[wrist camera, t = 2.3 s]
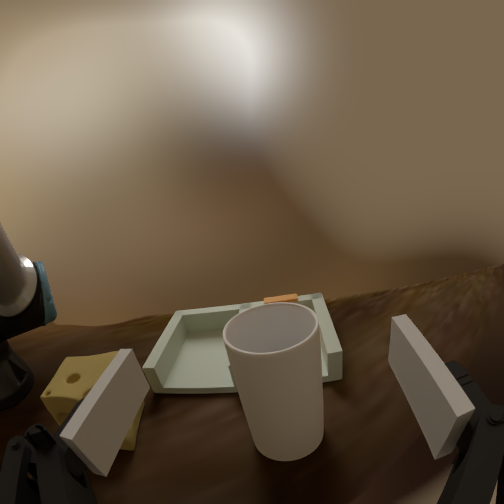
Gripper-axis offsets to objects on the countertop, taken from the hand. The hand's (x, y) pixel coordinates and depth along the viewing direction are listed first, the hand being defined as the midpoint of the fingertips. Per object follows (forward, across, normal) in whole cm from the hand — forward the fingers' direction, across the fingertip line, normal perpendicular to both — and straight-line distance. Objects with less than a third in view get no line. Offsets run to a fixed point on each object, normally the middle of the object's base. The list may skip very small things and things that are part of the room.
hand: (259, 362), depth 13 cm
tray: (+27, -6, -20) cm, 34 cm away
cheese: (+11, -25, -20) cm, 34 cm away
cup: (+10, 0, -20) cm, 22 cm away
